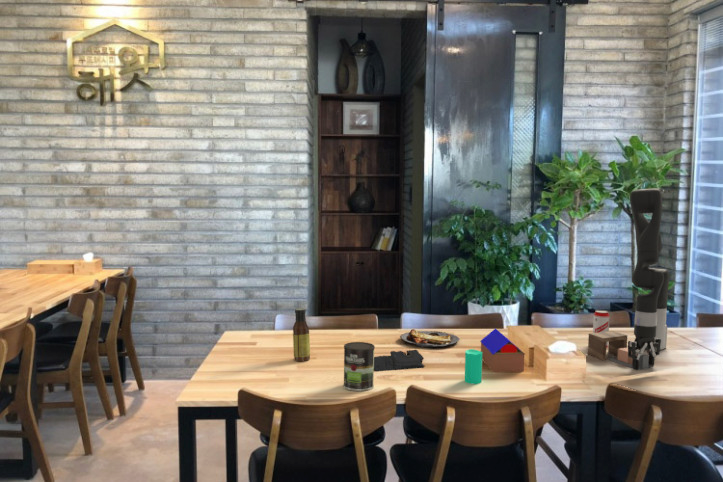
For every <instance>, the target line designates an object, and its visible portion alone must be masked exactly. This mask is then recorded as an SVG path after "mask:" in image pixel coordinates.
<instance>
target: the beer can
mask: <svg viewBox="0 0 723 482" xmlns="http://www.w3.org/2000/svg"><path fill="white" fill-rule="evenodd" d="M610 317H611V316H610V314H609V311H608V310H603V309H597V310H595V312H594V313H593V322H592V333H598V332H607V331H610ZM608 345H609V342H607V345H606V349H608Z"/></svg>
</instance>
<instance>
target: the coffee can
mask: <svg viewBox="0 0 723 482" xmlns="http://www.w3.org/2000/svg"><path fill="white" fill-rule="evenodd" d="M375 348H376V347H375V344H372V343H369V342H366V341H365V342H364V341H353V342H347V343H345V344H344V345H343V349H344V350H343V351H344V352H343V355H344V356H343V357H344V358H343V388H344V389H346V390H348V391H351V392H352V391H353V392H354V391H355V392H366V391H370V390H372V389H374V385H375V384H374V379H375V378H374V376H375V375H374V374H375V371H374V357H375Z"/></svg>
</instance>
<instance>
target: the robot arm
mask: <svg viewBox="0 0 723 482" xmlns="http://www.w3.org/2000/svg"><path fill="white" fill-rule="evenodd" d="M629 203H630V210H631V214H632V219H633V222H634V232H635V243H636V249H637V250H636V251H637V259H636V265H635V268H634V271H633V273H632V278H631V281H632V284H633V286H634V287H635V288H638V289H643V290H646V291H650V292H648V293H641V294H638V295H637V296H636V298H635V301H636V302H635V314H634V325H633V335H634V336H635V338H634V340H627V348H628V357H631V358H632V359H633V362H632V367H633V368H632V369H634V370H637V369H639V358H640V355H641V354H644V352H646V354H647V355H649V362H648V364H650V365H652V368H654V367H655V366H654V365H655V358H656V356H659V355H660V352H661V350H665V348H666V349H667V338H668V325H667V310H668V309H667V308H668V297H669V296H668V293H669V285H670V272H669V270H667V269H664V268H656V267H655V268H653V267H652V268H651V267H650V266H653V265H656V264H657V263H658V262H659V255H660V253H661V251H662V249H663V242H662V234H661V233H660V228H661V220H662V211H663V195H662V192H661V189H660V188H642V189H640V188H639V189H634V190H632V191H631V192H630V195H629ZM644 214H652V215H651V218H650V221H649V220H648V219H647V218H646V217H645V215H644ZM631 352H632V354H631ZM637 353H638V354H637ZM636 354H637V356H636Z"/></svg>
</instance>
